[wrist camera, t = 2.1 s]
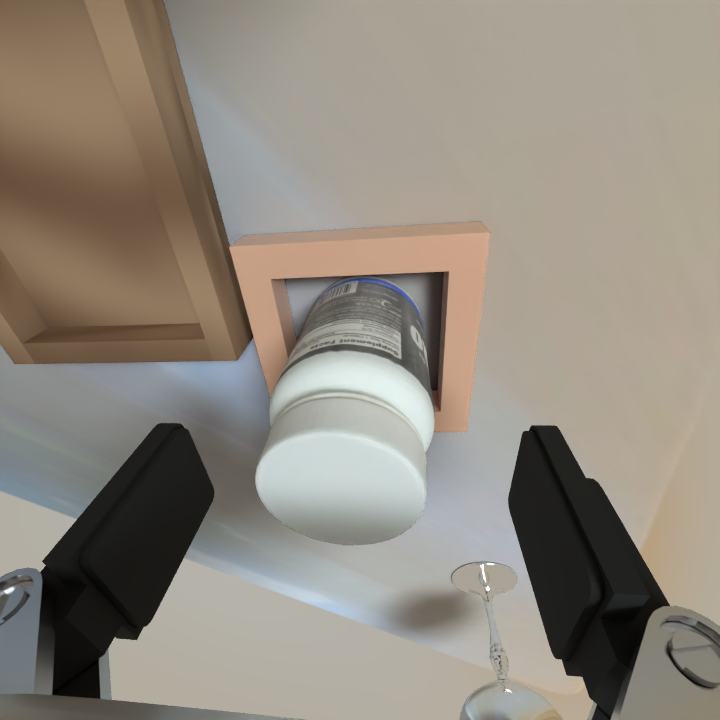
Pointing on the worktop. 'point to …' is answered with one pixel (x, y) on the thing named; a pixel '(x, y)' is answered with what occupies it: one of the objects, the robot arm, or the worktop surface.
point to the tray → (107, 194)
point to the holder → (369, 257)
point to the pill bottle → (351, 418)
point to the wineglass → (498, 655)
